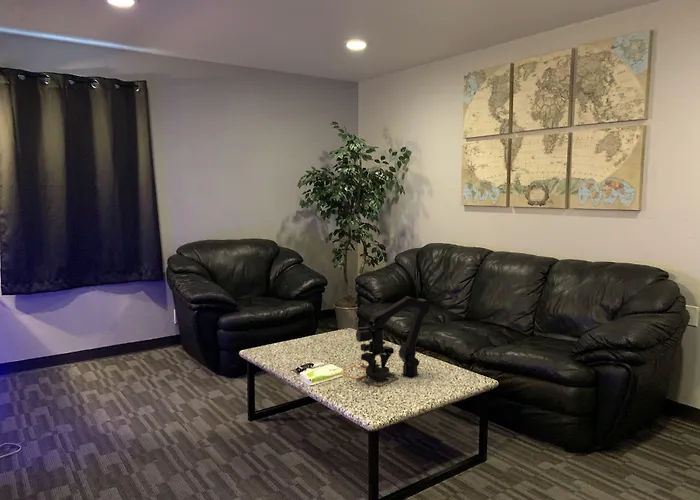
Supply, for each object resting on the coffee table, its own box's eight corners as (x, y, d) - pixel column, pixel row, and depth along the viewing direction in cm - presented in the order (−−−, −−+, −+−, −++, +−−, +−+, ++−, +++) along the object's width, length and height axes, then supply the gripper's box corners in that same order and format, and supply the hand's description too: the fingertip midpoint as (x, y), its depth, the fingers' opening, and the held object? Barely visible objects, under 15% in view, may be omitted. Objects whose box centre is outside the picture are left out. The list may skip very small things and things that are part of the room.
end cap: (365, 378, 257) (365, 365, 256) (375, 375, 262) (375, 362, 261) (380, 384, 250) (379, 370, 249) (390, 380, 255) (390, 366, 254)
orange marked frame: (375, 372, 266) (375, 371, 266) (356, 379, 256) (356, 378, 256) (354, 366, 276) (354, 365, 276) (334, 373, 266) (334, 372, 265)
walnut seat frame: (398, 379, 256) (398, 378, 256) (379, 387, 246) (379, 386, 245) (375, 372, 266) (375, 371, 266) (356, 380, 255) (356, 379, 255)
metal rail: (395, 376, 261) (395, 373, 260) (393, 376, 259) (393, 374, 259) (362, 366, 275) (362, 364, 275) (360, 367, 274) (360, 364, 274)
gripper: (377, 332, 266) (377, 362, 268) (352, 340, 252) (352, 372, 254) (394, 336, 258) (394, 367, 260) (369, 344, 245) (370, 377, 246)
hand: (377, 370), depth 255 cm, fingers open, 7 cm apart
